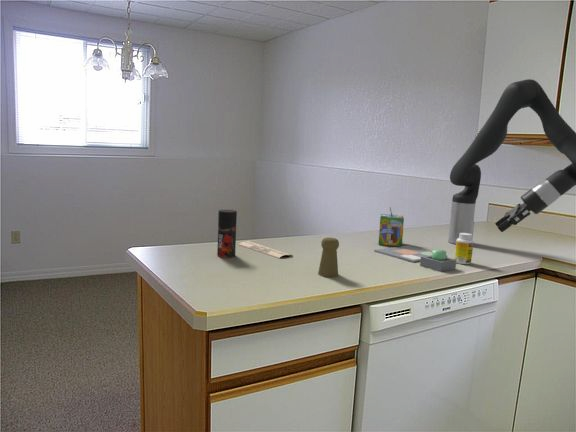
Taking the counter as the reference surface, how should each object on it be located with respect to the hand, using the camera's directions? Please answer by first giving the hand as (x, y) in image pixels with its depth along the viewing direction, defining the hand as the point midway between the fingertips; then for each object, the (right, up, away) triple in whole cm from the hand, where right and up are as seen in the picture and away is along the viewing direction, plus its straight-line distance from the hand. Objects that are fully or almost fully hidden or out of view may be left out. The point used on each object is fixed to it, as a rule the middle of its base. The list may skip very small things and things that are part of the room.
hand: (498, 227), depth 159 cm
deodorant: (-91, -9, -2) cm, 92 cm away
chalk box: (-30, -8, +31) cm, 44 cm away
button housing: (-21, -13, -3) cm, 25 cm away
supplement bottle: (-10, -12, +5) cm, 17 cm away
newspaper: (-79, -9, +8) cm, 80 cm away
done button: (-21, -11, -4) cm, 24 cm away
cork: (-59, -14, -18) cm, 63 cm away
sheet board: (-26, -10, +14) cm, 31 cm away
